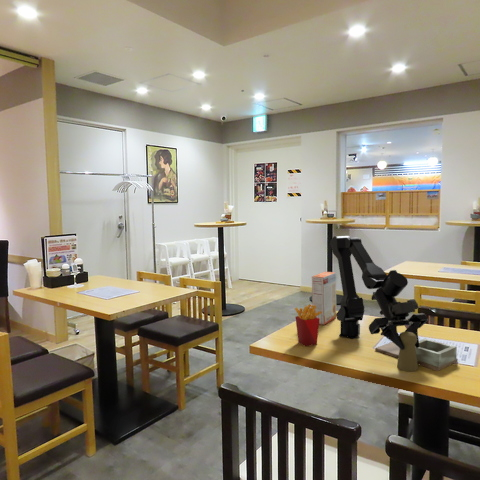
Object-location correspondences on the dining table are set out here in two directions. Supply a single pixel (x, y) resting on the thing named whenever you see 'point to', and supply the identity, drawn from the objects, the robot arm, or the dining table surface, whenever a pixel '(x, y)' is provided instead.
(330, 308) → the cracker box
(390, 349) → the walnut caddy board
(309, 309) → the french fries
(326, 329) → the dining table surface
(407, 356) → the cork
